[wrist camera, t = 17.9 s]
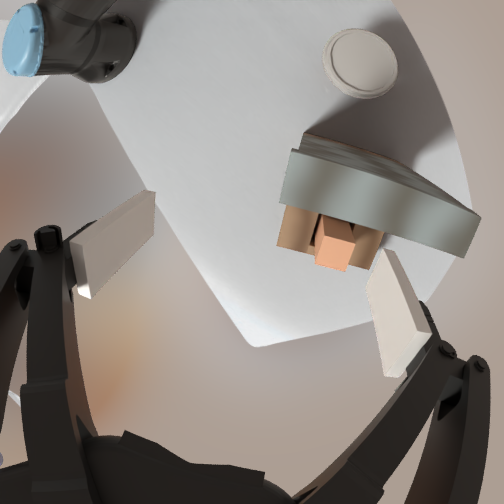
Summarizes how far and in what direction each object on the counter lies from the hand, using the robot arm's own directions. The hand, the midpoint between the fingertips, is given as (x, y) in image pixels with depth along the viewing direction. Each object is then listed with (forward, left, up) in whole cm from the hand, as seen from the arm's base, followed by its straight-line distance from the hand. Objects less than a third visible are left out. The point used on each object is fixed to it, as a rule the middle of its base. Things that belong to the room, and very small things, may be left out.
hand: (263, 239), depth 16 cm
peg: (+9, -9, -33) cm, 35 cm away
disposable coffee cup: (+6, +16, -33) cm, 37 cm away
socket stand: (+9, -5, -33) cm, 34 cm away
